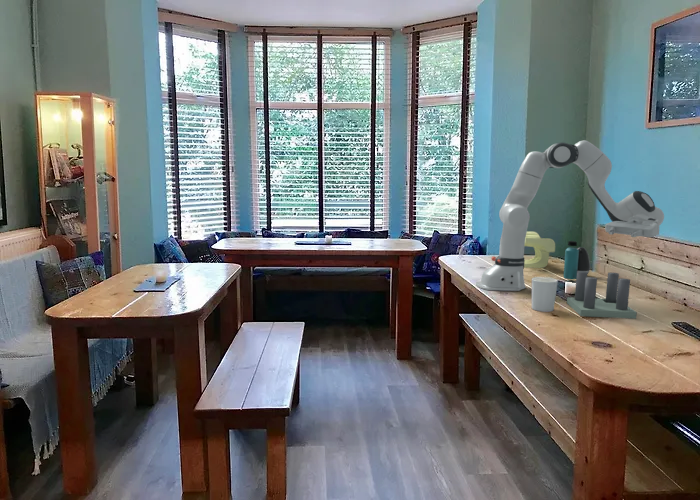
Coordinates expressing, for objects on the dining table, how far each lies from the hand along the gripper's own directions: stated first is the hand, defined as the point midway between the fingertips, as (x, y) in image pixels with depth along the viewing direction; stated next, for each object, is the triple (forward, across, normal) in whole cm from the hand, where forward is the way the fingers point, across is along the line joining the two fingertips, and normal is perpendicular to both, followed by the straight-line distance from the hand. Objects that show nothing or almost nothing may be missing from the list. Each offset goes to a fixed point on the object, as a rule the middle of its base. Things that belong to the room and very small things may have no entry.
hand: (621, 233), depth 228 cm
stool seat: (+24, +4, +24) cm, 35 cm away
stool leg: (+16, +4, +26) cm, 31 cm away
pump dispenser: (-32, -40, +37) cm, 63 cm away
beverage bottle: (-16, -35, +33) cm, 51 cm away
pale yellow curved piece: (-35, -72, +38) cm, 89 cm away
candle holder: (+42, -10, +21) cm, 48 cm away
